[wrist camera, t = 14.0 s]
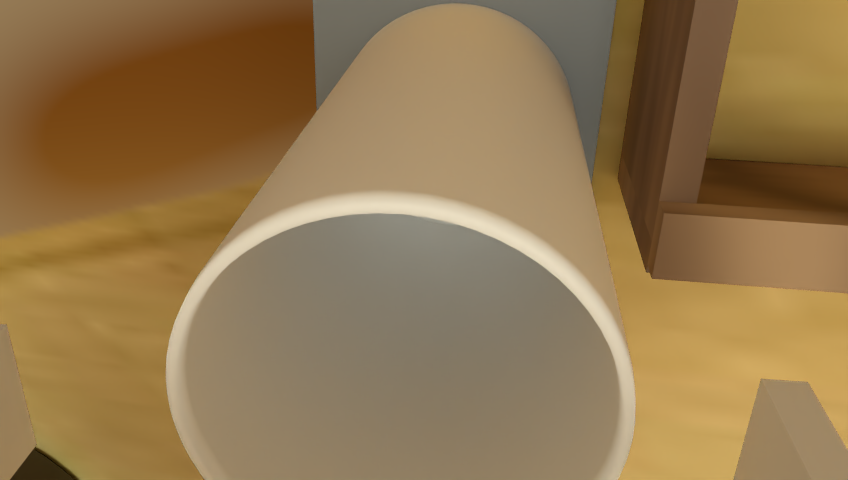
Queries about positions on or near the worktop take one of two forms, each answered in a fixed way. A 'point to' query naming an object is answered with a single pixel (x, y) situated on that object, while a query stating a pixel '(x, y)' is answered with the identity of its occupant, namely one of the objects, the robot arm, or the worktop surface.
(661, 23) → the crate
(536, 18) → the panel
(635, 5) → the worktop surface
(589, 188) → the cup
